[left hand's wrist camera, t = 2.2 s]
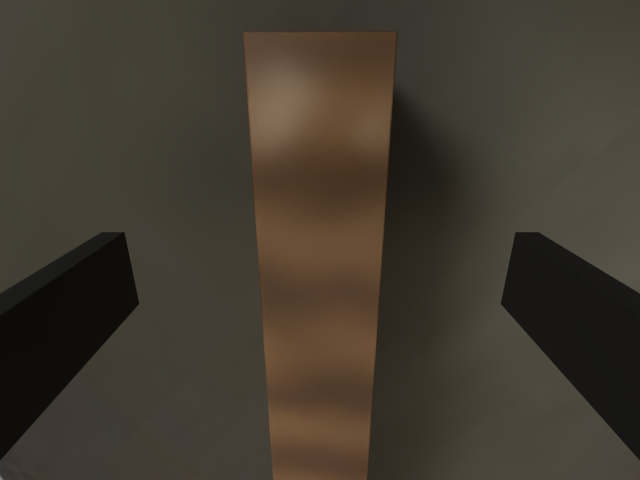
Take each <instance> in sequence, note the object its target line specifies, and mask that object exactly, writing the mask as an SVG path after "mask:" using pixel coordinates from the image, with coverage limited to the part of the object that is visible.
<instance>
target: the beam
mask: <svg viewBox="0 0 640 480" xmlns="http://www.w3.org/2000/svg"><path fill="white" fill-rule="evenodd" d="M243 40H244V55H245V70H246V85H247V100H248V115H249V129H250V144H251V159H252V174H253V189H254V204H255V219H256V234H257V248H258V263H259V278H260V293H261V308H262V323H263V338H264V353H265V367H266V382H267V397H268V412H269V427H270V442H271V457H272V472H273V480H367V476H368V461H369V446H370V431H371V417H372V402H373V387H374V372H375V357H376V343H377V328H378V313H379V298H380V284H381V269H382V254H383V239H384V224H385V210H386V195H387V180H388V165H389V150H390V136H391V121H392V106H393V91H394V76H395V62H396V47H397V32H243Z"/></svg>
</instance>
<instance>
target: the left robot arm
mask: <svg viewBox="0 0 640 480" xmlns="http://www.w3.org/2000/svg"><path fill="white" fill-rule="evenodd" d="M138 305H139V301H138V296H137V291H136V286H135V281H134V277H133V272H132V267H131V262H130V257H129V252H128V248H127V243H126V238H125V233H124V232H101V233H100V234H98V235H96V236H95V237H93V238H91V239H90V240H88V241H86V242H85V243H83V244H82V245H80V246H78V247H77V248H75V249H73V250H72V251H70V252H68V253H67V254H65V255H63V256H62V257H60V258H58V259H57V260H55V261H53V262H52V263H50V264H48V265H47V266H45V267H43V268H42V269H40V270H39V271H37V272H35V273H34V274H32V275H30V276H29V277H27V278H25V279H24V280H22V281H20V282H19V283H17V284H15V285H14V286H12V287H10V288H9V289H7V290H5V291H4V292H2V293H1V294H0V460H1V459H2V458H3V457H4V455H5V454H6V453H7V452H8V451H9V450H10V449H11V448H12V446H13V445H14V444H15V443H16V442H17V441H18V440H19V439H20V437H21V436H22V435H23V434H24V433H25V432H26V431H27V430H28V428H29V427H30V426H31V425H32V424H33V423H34V422H35V421H36V419H37V418H38V417H39V416H40V415H41V414H42V413H43V412H44V410H45V409H46V408H47V407H48V406H49V405H50V404H51V403H52V401H53V400H54V399H55V398H56V397H57V396H58V395H59V394H60V392H61V391H62V390H63V389H64V388H65V387H66V386H67V385H68V383H69V382H70V381H71V380H72V379H73V378H74V377H75V376H76V374H77V373H78V372H79V371H80V370H81V369H82V368H83V367H84V365H85V364H86V363H87V362H88V361H89V360H90V359H91V357H92V356H93V355H94V354H95V353H96V352H97V351H98V350H99V348H100V347H101V346H102V345H103V344H104V343H105V342H106V341H107V339H108V338H109V337H110V336H111V335H112V334H113V333H114V332H115V330H116V329H117V328H118V327H119V326H120V325H121V324H122V323H123V321H124V320H125V319H126V318H127V317H128V316H129V315H130V314H131V312H132V311H133V310H134V309H135V308H136V307H137V306H138ZM501 305H502V306H503V307H504V308H505V309H506V310H507V311H508V312H509V314H510V315H511V316H512V317H513V318H514V319H515V320H516V321H517V323H518V324H519V325H520V326H521V327H522V328H523V329H524V330H525V332H526V333H527V334H528V335H529V336H530V337H531V338H532V339H533V341H534V342H535V343H536V344H537V345H538V346H539V347H540V348H541V350H542V351H543V352H544V353H545V354H546V355H547V356H548V357H549V359H550V360H551V361H552V362H553V363H554V364H555V365H556V367H557V368H558V369H559V370H560V371H561V372H562V373H563V374H564V376H565V377H566V378H567V379H568V380H569V381H570V382H571V383H572V385H573V386H574V387H575V388H576V389H577V390H578V391H579V392H580V394H581V395H582V396H583V397H584V398H585V399H586V400H587V401H588V403H589V404H590V405H591V406H592V407H593V408H594V409H595V410H596V412H597V413H598V414H599V415H600V416H601V417H602V418H603V419H604V421H605V422H606V423H607V424H608V425H609V426H610V427H611V428H612V430H613V431H614V432H615V433H616V434H617V435H618V436H619V437H620V439H621V440H622V441H623V442H624V443H625V444H626V445H627V446H628V448H629V449H630V450H631V451H632V452H633V453H634V454H635V455H636V457H637V458H638V459H639V460H640V294H639V293H638V292H636V291H635V290H633V289H631V288H630V287H628V286H626V285H625V284H623V283H621V282H620V281H618V280H616V279H615V278H613V277H611V276H610V275H608V274H606V273H605V272H603V271H601V270H600V269H598V268H597V267H595V266H593V265H592V264H590V263H588V262H587V261H585V260H583V259H582V258H580V257H578V256H577V255H575V254H573V253H572V252H570V251H568V250H567V249H565V248H563V247H562V246H560V245H558V244H557V243H555V242H554V241H552V240H550V239H549V238H547V237H545V236H544V235H542V234H540V233H539V232H516V233H515V238H514V243H513V248H512V252H511V257H510V262H509V267H508V272H507V277H506V281H505V286H504V291H503V296H502V301H501Z"/></svg>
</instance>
